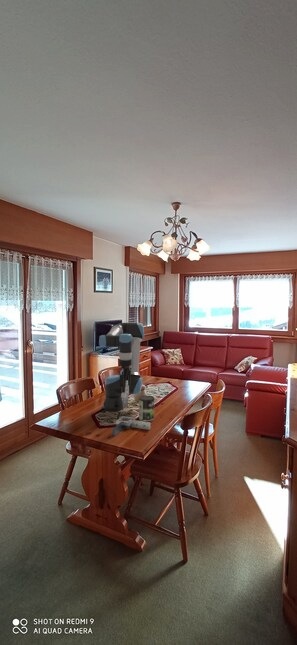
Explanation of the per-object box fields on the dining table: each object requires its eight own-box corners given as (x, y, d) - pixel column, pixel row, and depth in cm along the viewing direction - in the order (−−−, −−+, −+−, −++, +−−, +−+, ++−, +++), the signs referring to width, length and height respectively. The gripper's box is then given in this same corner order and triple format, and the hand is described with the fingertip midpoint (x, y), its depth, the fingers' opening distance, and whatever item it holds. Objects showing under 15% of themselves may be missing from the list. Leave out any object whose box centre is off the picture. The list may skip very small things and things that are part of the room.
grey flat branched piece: (107, 434, 179) (107, 428, 178) (122, 422, 198) (122, 415, 198) (139, 440, 172) (140, 433, 171) (152, 426, 191) (152, 420, 191)
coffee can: (157, 417, 206) (157, 396, 205) (148, 422, 198) (149, 401, 197) (144, 414, 212) (144, 394, 211) (135, 419, 203) (135, 398, 202)
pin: (121, 406, 191) (121, 381, 190) (124, 405, 194) (124, 380, 193) (126, 407, 190) (126, 381, 189) (128, 405, 193) (128, 380, 192)
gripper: (125, 361, 181) (125, 401, 182) (136, 357, 196) (136, 393, 198) (114, 360, 184) (113, 399, 185) (125, 356, 199) (125, 392, 200)
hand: (125, 396), depth 191 cm, fingers closed on pin, 3 cm apart
